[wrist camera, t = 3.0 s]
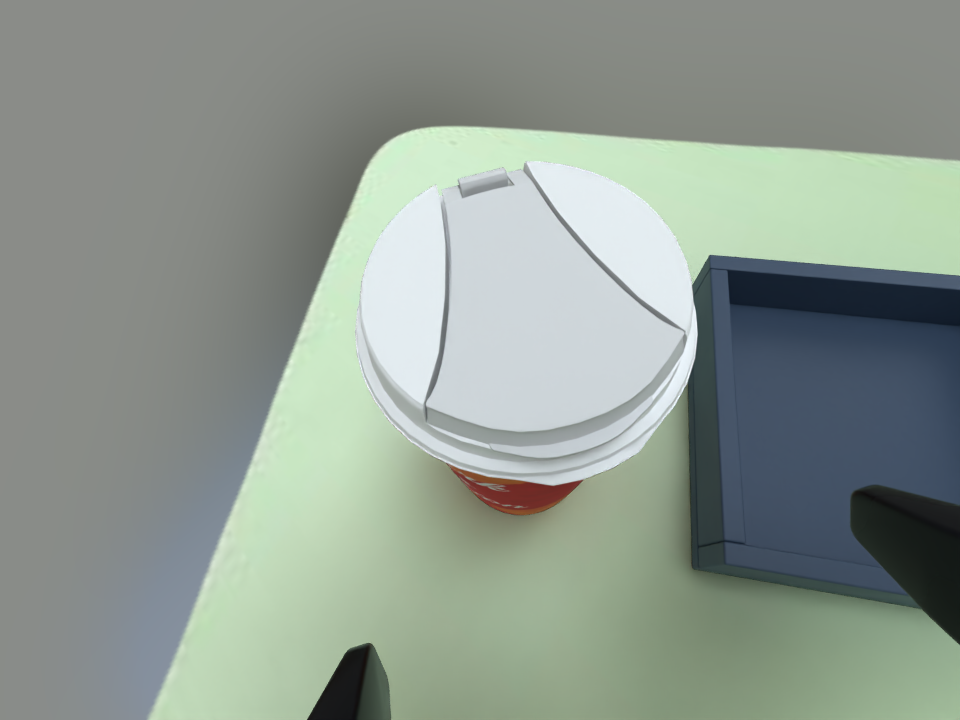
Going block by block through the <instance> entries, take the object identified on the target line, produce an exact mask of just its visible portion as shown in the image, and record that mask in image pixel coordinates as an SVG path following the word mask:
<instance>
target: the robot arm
mask: <svg viewBox="0 0 960 720" xmlns="http://www.w3.org/2000/svg"><path fill="white" fill-rule="evenodd" d="M850 528H851V531H852V533H853V535H854V537H855V538H856V539H857V541H858V542H859V543H860V544H861V545H862V546H863V547H864V548H865V549H866V550H867V551H868V552H869V554H870V555H871V556H872V557H873V558H874V559H875V560H876V561H877V562H878V563H879V564H880V565H881V566H882V567H883V568H884V569H885V571H886V572H887V573H888V574H889V575H890V576H891V577H892V578H893V579H894V580H895V581H896V582H897V583H898V584H899V585H900V587H901V588H902V589H903V590H904V591H905V592H906V593H907V594H908V595H909V596H910V597H911V598H912V599H913V600H914V601H915V602H916V604H917V605H918V606H919V607H920V608H921V609H922V610H923V611H924V612H925V613H926V614H927V615H928V616H929V617H930V618H931V619H932V620H933V621H935V622H936V623H937V624H938V625H939V626H940V627H941V628H942V629H943V630H944V631H945V632H946V633H947V634H948V635H950V636H951V637H952V638H953V639H954V640H955V641H956V642H957V643H958V644H959V645H960V505H957V504H953V503H949V502H946V501H942V500H938V499H934V498H930V497H926V496H922V495H918V494H914V493H910V492H906V491H902V490H898V489H894V488H890V487H886V486H882V485H878V484H873V485H869V486H865V487H862V488H859V489H856V490H854V491H853V492H852V493H851V496H850ZM307 720H391V710H390V691H389V683H388V678H387V675H386V672H385V670H384V668H383V665H382V663H381V661H380V659H379V656H378V654H377V652H376V649H375V647H374V646H373V645H372V644H371V643H366V644H362V645H359V646H356V647H353V648H350V649H349V650H348V651H347V652H346V653H345V654H344V656H343V658H342V660H341V661H340V663H339V665H338V667H337V668H336V670H335V672H334V674H333V675H332V677H331V679H330V681H329V682H328V684H327V686H326V688H325V689H324V691H323V693H322V695H321V696H320V698H319V700H318V701H317V703H316V705H315V707H314V708H313V710H312V712H311V714H310V715H309V717H308V719H307Z"/></svg>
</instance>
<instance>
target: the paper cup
mask: <svg viewBox="0 0 960 720" xmlns="http://www.w3.org/2000/svg"><path fill="white" fill-rule="evenodd" d="M458 183H459V185H457V186H454V187H450V188H446V189H442V194H443V195H442V196H439V194H438V190H437V186H436V185H434V186H432V187H431V188H429V189H427V190H426V191H424V192H423V193H421V194H419V195H418V196H417V197H416V198H414V199H413V200H412V201H411V202H410V203H408V204H407V205H406V206H405V207H403V208H402V209H401V211H400V212H399V213H398V214H397V215H396V216H395V217H394V218H393V219H392V220H391V221H390V222H389V224H388V225H387V227H386V228H385V229H384V231H383V232H382V234H381V235H380V237H379V238H378V239H377V242H376V244H375V246H374V248H373V250H372V252H371V254H370V256H369V258H368V261H367V264H366V267H365V271H364V274H363V278H362V281H361V291H360V301H359V306H358V309H357V319H356V329H355V336H356V348H357V357H358V360H359V364H360V368H361V371H362V375H363V378H364V380H365V383H366V385H367V387H368V389H369V391H370V393H371V395H372V397H373V399H374V401H375V402H376V404H377V405H378V406H379V408H380V409H381V411H382V412H383V413H384V415H385V416H386V418H387V419H388V420H389V422H390V423H391V424H392V425H393V426H394V427H396V428H397V429H398V430H399V431H400V432H401V433H402V434H403V435H404V436H405V437H406V438H407V439H408V440H409V441H410V442H412V443H413V444H415V445H416V446H418V447H419V448H421V449H422V450H424V451H425V452H427V453H428V454H429V455H431V456H432V457H435V458H437V459H439V460H441V461H443V462H445V463H446V464H447V465H448V466H449V467H450V468H451V469H452V471H453V472H454V473H455V474H456V475H457V476H458V477H459V478H460V479H461V481H462V482H463V483H464V484H465V485H466V486H467V487H468V488H469V489H470V490H471V491H472V492H473V493H474V494H475V495H476V496H477V497H478V498H479V499H480V500H482V501H483V502H484V503H486V504H487V505H489V506H490V507H492V508H494V509H496V510H499V511H501V512H504V513H508V514H514V515H530V514H535V513H539V512H542V511H544V510H547V509H549V508H551V507H553V506H554V505H556V504H557V503H559V502H560V501H561V500H563V499H564V498H565V497H566V496H567V495H568V494H569V493H571V492H572V491H573V490H574V489H575V488H576V487H577V486H578V485H579V484H580V483H581V482H582V481H583V480H584V479H587V478H589V477H592V476H594V475H597V474H600V473H602V472H605V471H607V470H610V469H612V468H614V467H616V466H618V465H619V464H621V463H623V462H624V461H626V460H628V459H629V458H631V457H633V456H634V455H636V454H638V453H639V452H640V450H641V449H642V447H643V446H644V445H645V443H646V442H647V441H648V439H649V438H650V437H651V435H652V434H653V433H654V431H655V430H656V429H657V427H658V426H659V425H660V423H661V422H662V421H663V420H664V419H665V417H666V416H667V415H668V414H669V412H670V411H671V410H672V409H673V407H674V406H675V405H676V403H677V401H678V399H679V397H680V395H681V393H682V392H683V390H684V388H685V386H686V384H687V382H688V379H689V376H690V373H691V369H692V366H693V363H694V360H695V354H696V344H697V335H698V332H697V320H696V309H695V306H694V302H693V290H692V280H691V276H690V272H689V269H688V265H687V262H686V258H685V256H684V254H683V252H682V250H681V248H680V246H679V244H678V242H677V240H676V238H675V236H674V234H673V233H672V232H671V230H670V229H669V227H668V226H667V225H666V223H665V222H664V220H663V219H662V218H661V217H660V216H659V215H658V214H657V213H656V212H655V211H654V210H653V209H652V208H651V207H650V206H649V205H648V204H647V203H646V202H645V201H643V200H642V199H641V198H639V197H638V196H637V195H635V194H634V193H633V192H631V191H630V190H629V189H627V188H625V187H623V186H621V185H620V184H618V183H616V182H614V181H612V180H611V179H608V178H606V177H603V176H601V175H598V174H596V173H593V172H591V171H588V170H584V169H580V168H577V167H573V166H569V165H564V164H557V163H550V162H534V161H526V163H524V170H521V169H520V170H516V171H512V172H508V173H507V172H506V170H505V169H504V168H499V169H495V170H491V171H487V172H483V173H479V174H475V175H471V176H468V177H464V178H460V179H458Z"/></svg>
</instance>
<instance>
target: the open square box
mask: <svg viewBox="0 0 960 720" xmlns="http://www.w3.org/2000/svg"><path fill="white" fill-rule="evenodd" d="M692 290H693V302H694V306H695V309H696V320H697V332H698V335H697V344H696V354H695V360H694V363H693V366H692V369H691V373H690V376H689V379H688V397H689V443H690V489H691V535H692V568H693V569H696V570H702V571H707V572H713V573H719V574H725V575H730V576H736V577H742V578H748V579H753V580H759V581H765V582H771V583H776V584H782V585H788V586H794V587H799V588H805V589H811V590H817V591H822V592H828V593H834V594H840V595H845V596H851V597H857V598H863V599H868V600H874V601H880V602H886V603H891V604H897V605H903V606H909V607H915V608H920V607H919V606H918V605H917V604H916V602H915V601H914V600H913V599H912V598H911V597H910V596H909V595H908V594H907V593H906V592H905V591H904V590H903V589H902V588H901V587H900V585H899V584H898V583H897V582H896V581H895V580H894V579H893V578H892V577H891V576H890V575H889V574H888V573H887V572H886V571H885V569H884V568H883V567H882V566H881V565H880V564H879V563H878V562H877V561H876V560H875V559H874V558H873V557H872V556H871V555H870V554H869V552H868V551H867V550H866V549H865V548H864V547H863V546H862V545H861V544H860V543H859V542H858V541H857V539H856V538H855V537H854V535H853V533H852V531H851V528H850V496H851V493H852V492H853V491H854V490H856V489H859V488H862V487H865V486H869V485H873V484H878V485H882V486H886V487H890V488H894V489H898V490H902V491H906V492H910V493H914V494H918V495H922V496H926V497H930V498H934V499H938V500H942V501H946V502H949V503H953V504H957V505H960V276H956V275H944V274H932V273H920V272H908V271H896V270H884V269H872V268H860V267H848V266H836V265H824V264H812V263H800V262H788V261H776V260H764V259H752V258H740V257H728V256H716V255H709V257H708V259H707V261H706V262H705V264H704V266H703V268H702V269H701V271H700V273H699V275H698V276H697V278H696V280H695V282H694V283H693V285H692ZM920 609H921V608H920Z"/></svg>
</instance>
